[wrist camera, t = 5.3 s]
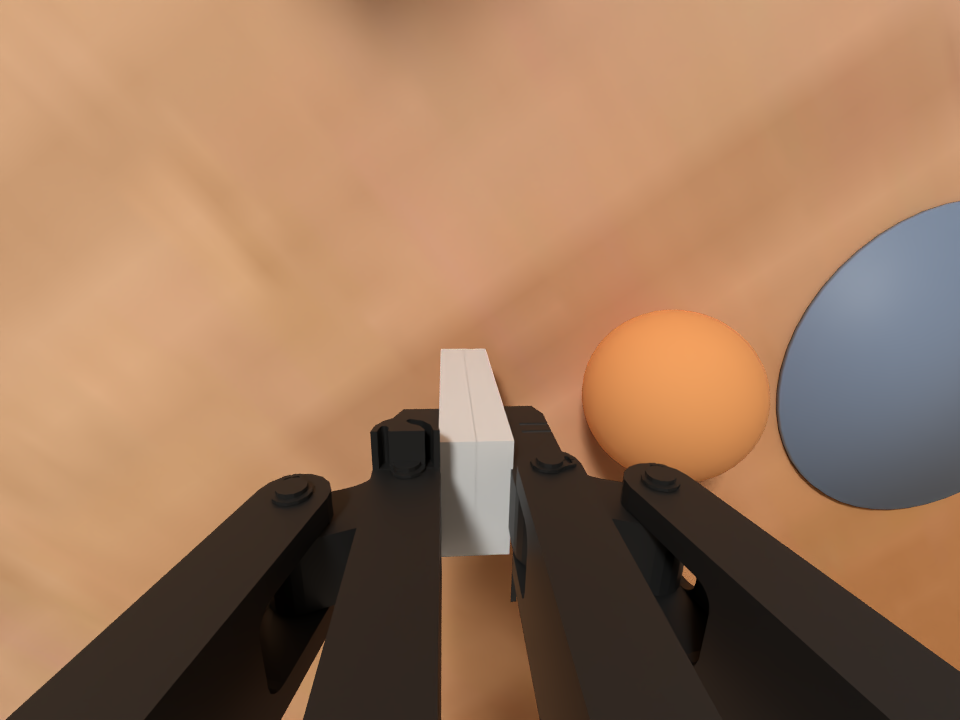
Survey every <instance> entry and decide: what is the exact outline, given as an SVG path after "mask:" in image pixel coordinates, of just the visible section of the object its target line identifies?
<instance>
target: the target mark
mask: <svg viewBox="0 0 960 720" xmlns="http://www.w3.org/2000/svg"><path fill="white" fill-rule="evenodd" d="M776 410H777V419H778V428H779V431H780V435H781V439H782V442H783V445H784V447H785V449H786V452H787V454H788V456H789V458H790V460H791V461H792V463H793V464H794V466H795V467H796V468H797V470H798V471H799V473H800V474H801V475H802V476H803V477H804V478H805V479H806V480H807V481H808V482H809V483H811V484H812V485H813V486H815V487H816V488H818V489H819V490H820V491H822V492H823V493H825V494H826V495H828V496H830V497H832V498H834V499H836V500H838V501H840V502H843V503H847V504H850V505H853V506H857V507H863V508H869V509H901V508H910V507H914V506H919V505H924V504H928V503H931V502H935V501H938V500H941V499H944V498H947V497H949V496H952V495H954V494H956V493H959V492H960V201H958V202H953V203H948V204H944V205H941V206H938V207H935V208H932V209H928V210H925V211H922V212H920V213H918V214H916V215H914V216H912V217H910V218H907V219H905V220H903V221H901V222H899V223H897V224H896V225H894V226H892V227H891V228H889V229H887V230H886V231H884V232H883V233H881V234H879V235H878V236H876V237H875V238H874V239H872V240H871V241H870V242H868V243H867V244H866V245H864V246H863V247H862V248H861V249H859V250H858V251H857V252H856V253H855V254H853V255H852V256H851V257H850V258H849V259H848V260H847V261H846V262H845V263H844V264H843V265H842V266H841V267H840V268H838V270H837V271H836V272H835V273H834V274H833V275H832V276H831V278H830V279H829V280H828V281H827V282H826V283H825V284H824V286H823V287H822V288H821V289H820V291H819V292H818V294H817V295H816V296H815V298H814V299H813V301H812V302H811V303H810V305H809V306H808V308H807V309H806V311H805V313H804V315H803V316H802V318H801V320H800V322H799V323H798V325H797V327H796V329H795V331H794V333H793V336H792V338H791V341H790V343H789V345H788V348H787V350H786V353H785V357H784V360H783V363H782V367H781V370H780V376H779V382H778V388H777V408H776Z"/></svg>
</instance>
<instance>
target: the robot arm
mask: <svg viewBox="0 0 960 720" xmlns="http://www.w3.org/2000/svg"><path fill="white" fill-rule="evenodd" d="M370 434H371V449H372V465H373V471H372V474H371V478H370V480H368V481H366V482H364V483H362V484H360V485H357V486H354V487H350V488H346V489H342V490H337V491H333V492H331V487H330V483H329V481H327V480H326V479H325V478H323V477H321V476H317V475H313V474H293V475H288V476H284V477H282V478H280V479H277V480H275V481H272V482H270V483H268V484H267V485H265V486H264V487H262V488H261V489H259V490H258V491H257V492H256V493H255V494H254V495H253V496H252V497H250V498H249V499H248V500H247V501H246V502H245V503H244V504H243V505H242V506H241V507H239V508H238V509H237V510H236V511H235V512H234V513H233V514H232V515H231V516H229V517H228V518H227V519H226V520H225V521H224V522H223V523H222V524H221V525H220V526H218V527H217V528H216V529H215V530H214V531H213V532H212V533H211V534H210V535H209V536H207V537H206V538H205V539H204V540H203V541H202V542H201V543H200V544H199V545H198V546H196V547H195V548H194V549H193V550H192V551H191V552H190V553H189V554H188V555H187V556H185V557H184V558H183V559H182V560H181V561H180V562H179V563H178V564H177V565H175V566H174V567H173V568H172V569H171V570H170V571H169V572H168V573H167V574H166V575H164V576H163V577H162V578H161V579H160V580H159V581H158V582H157V583H156V584H155V585H153V586H152V587H151V588H150V589H149V590H148V591H147V592H146V593H145V594H144V595H142V596H141V597H140V598H139V599H138V600H137V601H136V602H135V603H134V604H133V605H131V606H130V607H129V608H128V609H127V610H126V611H125V612H124V613H123V614H121V615H120V616H119V617H118V618H117V619H116V620H115V621H114V622H113V623H112V624H110V625H109V626H108V627H107V628H106V629H105V630H104V631H103V632H102V633H101V634H99V635H98V636H97V637H96V638H95V639H94V640H93V641H92V642H91V643H90V644H88V645H87V646H86V647H85V648H84V649H83V650H82V651H81V652H80V653H79V654H77V655H76V656H75V657H74V658H73V659H72V660H71V661H70V662H69V663H67V664H66V665H65V666H64V667H63V668H62V669H61V670H60V671H59V672H58V673H56V674H55V675H54V676H53V677H52V678H51V679H50V680H49V681H48V682H47V683H45V684H44V685H43V686H42V687H41V688H40V689H39V690H38V691H37V692H36V693H34V694H33V695H32V696H31V697H30V698H29V699H28V700H27V701H26V702H25V703H23V704H22V705H21V706H20V707H19V708H18V709H17V710H16V711H15V712H13V713H12V714H11V715H10V716H9V717H8V718H7V719H6V720H281V719H282V717H283V715H284V713H285V711H286V710H287V708H288V706H289V704H290V702H291V701H292V699H293V697H294V695H295V693H296V691H297V690H298V688H299V686H300V684H301V682H302V681H303V679H304V677H305V675H306V673H307V672H308V670H309V668H310V666H311V664H312V662H313V661H314V659H315V657H316V655H317V653H318V652H319V650H320V648H321V646H322V644H323V642H324V641H325V643H324V646H323V650H322V654H321V657H320V661H319V664H318V668H317V671H316V675H315V679H314V682H313V686H312V689H311V693H310V697H309V700H308V704H307V707H306V711H305V714H304V718H303V720H441V610H442V564H441V557H451V556H475V555H499V554H509V549H510V538H511V543H512V548H513V563H512V584H511V602H515V601H516V597H517V601H518V606H519V612H520V617H521V622H522V628H523V633H524V638H525V644H526V649H527V654H528V660H529V665H530V670H531V676H532V681H533V686H534V692H535V697H536V702H537V708H538V713H539V718H540V720H960V671H958V670H957V669H955V668H954V667H953V666H951V665H950V664H948V663H947V662H946V661H944V660H943V659H942V658H940V657H939V656H937V655H936V654H935V653H933V652H932V651H930V650H929V649H928V648H926V647H925V646H924V645H922V644H921V643H919V642H918V641H917V640H915V639H914V638H912V637H911V636H910V635H908V634H907V633H905V632H904V631H903V630H901V629H900V628H899V627H897V626H896V625H894V624H893V623H892V622H890V621H889V620H887V619H886V618H885V617H883V616H882V615H881V614H879V613H878V612H876V611H875V610H874V609H872V608H871V607H869V606H868V605H867V604H865V603H864V602H863V601H861V600H860V599H858V598H857V597H856V596H854V595H853V594H851V593H850V592H849V591H847V590H846V589H844V588H843V587H842V586H840V585H839V584H838V583H836V582H835V581H833V580H832V579H831V578H829V577H828V576H826V575H825V574H824V573H822V572H821V571H820V570H818V569H817V568H815V567H814V566H813V565H811V564H810V563H808V562H807V561H806V560H804V559H803V558H802V557H800V556H799V555H797V554H796V553H795V552H793V551H792V550H790V549H789V548H788V547H786V546H785V545H783V544H782V543H781V542H779V541H778V540H777V539H775V538H774V537H772V536H771V535H770V534H768V533H767V532H765V531H764V530H763V529H761V528H760V527H759V526H757V525H756V524H754V523H753V522H752V521H750V520H749V519H747V518H746V517H745V516H743V515H742V514H741V513H739V512H738V511H736V510H735V509H734V508H732V507H731V506H729V505H728V504H727V503H725V502H724V501H722V500H721V499H720V498H718V497H717V496H716V495H714V494H713V493H711V492H710V491H709V490H707V489H706V488H704V487H703V486H702V485H700V484H699V483H698V482H696V481H695V480H693V479H692V478H691V477H689V476H688V475H686V474H684V473H682V472H681V471H679V470H677V469H674V468H671V467H668V466H666V465H664V464H659V463H658V464H656V463H640V464H635V465H632V466H629V467H628V468H627V469H626V470H625V472H624V476H623V482H618V481H611V480H605V479H600V478H595V477H591V476H589V475H587V473H586V471H585V470H584V468H583V466H582V464H581V463H580V462H579V461H578V460H577V459H576V458H575V457H573V456H572V455H570V454H568V453H566V452H562V451H561V449H560V447H559V445H558V443H557V441H556V439H555V437H554V435H553V433H552V432H551V429H550V427H549V425H548V424H547V421H546V419H545V417H544V415H543V414H542V413H541V412H539V411H538V410H536V409H535V408H533V407H532V406H505V407H503V403H502V400H501V397H500V394H499V391H498V387H497V384H496V381H495V378H494V375H493V371H492V368H491V365H490V362H489V359H488V355H487V352H486V349H441V363H440V399H439V409H404V410H402V411H401V412H400V413H399V414H398V415H396V416H395V417H394V418H392V419H389V420H385V421H383V422H381V423H379V424H377V425H375V426H374V428H373V429H372V430H371V432H370ZM683 566H685V567H686V568H688V569H689V570H690V571H691V572H692V573H693V574H694V575H695V576H696V578H697V579H696V584H695V586H693V585H691V584H690V583H689V582H688V581H687V580H686V579H685V578H684V577H683V576H682V572H683Z"/></svg>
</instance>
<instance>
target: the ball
mask: <svg viewBox="0 0 960 720" xmlns="http://www.w3.org/2000/svg"><path fill="white" fill-rule="evenodd" d="M582 402H583V409H584V413H585V417H586V420H587V423H588V426H589V428H590V430H591V432H592V434H593V435H594V437H595V438H596V440H597V442H598V443H599V445H600V446H601V447H602V448H603V450H604V451H605V452H606V453H607V454H608V455H609V456H610V457H611V458H612V459H614V460H615V461H616V462H618V463H619V464H620V465H622V466H623V467H625V468H626V469H627V468H628V467H629V466H632V465H635V464H640V463H656V464H658V463H659V464H664V465H666V466H668V467H671V468H674V469H677V470H679V471H681V472H682V473H684V474H686V475H688V476H689V477H691V478H692V479H693V480H695V481H696V482H697V481H702V480H706V479H709V478H712V477H716V476H718V475H720V474H722V473H724V472H726V471H728V470H729V469H731V468H733V467H734V466H735V465H737V464H738V463H739V462H740V461H742V460H743V459H744V458H745V457H746V456H747V455H748V454H749V453H750V452H751V451H752V449H753V448H754V447H755V445H756V444H757V442H758V441H759V439H760V437H761V435H762V433H763V431H764V429H765V426H766V423H767V419H768V416H769V410H770V388H769V383H768V378H767V375H766V372H765V369H764V367H763V365H762V363H761V361H760V359H759V357H758V355H757V354H756V352H755V351H754V349H753V348H752V347H751V346H750V344H749V343H748V342H747V341H746V340H745V339H744V338H743V337H742V336H741V335H740V334H739V333H737V332H736V331H735V330H733V329H732V328H731V327H729V326H728V325H726V324H725V323H723V322H721V321H719V320H717V319H715V318H712V317H710V316H707V315H704V314H700V313H696V312H692V311H684V310H662V311H654V312H650V313H646V314H643V315H640V316H637V317H635V318H632V319H630V320H629V321H627V322H625V323H623V324H621V325H620V326H618V327H617V328H615V329H614V330H613V331H612V332H610V333H609V334H608V335H607V336H606V337H605V338H604V339H603V340H602V342H601V343H600V344H599V345H598V347H597V348H596V350H595V351H594V353H593V354H592V356H591V358H590V360H589V362H588V365H587V367H586V371H585V374H584V379H583V386H582Z"/></svg>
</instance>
